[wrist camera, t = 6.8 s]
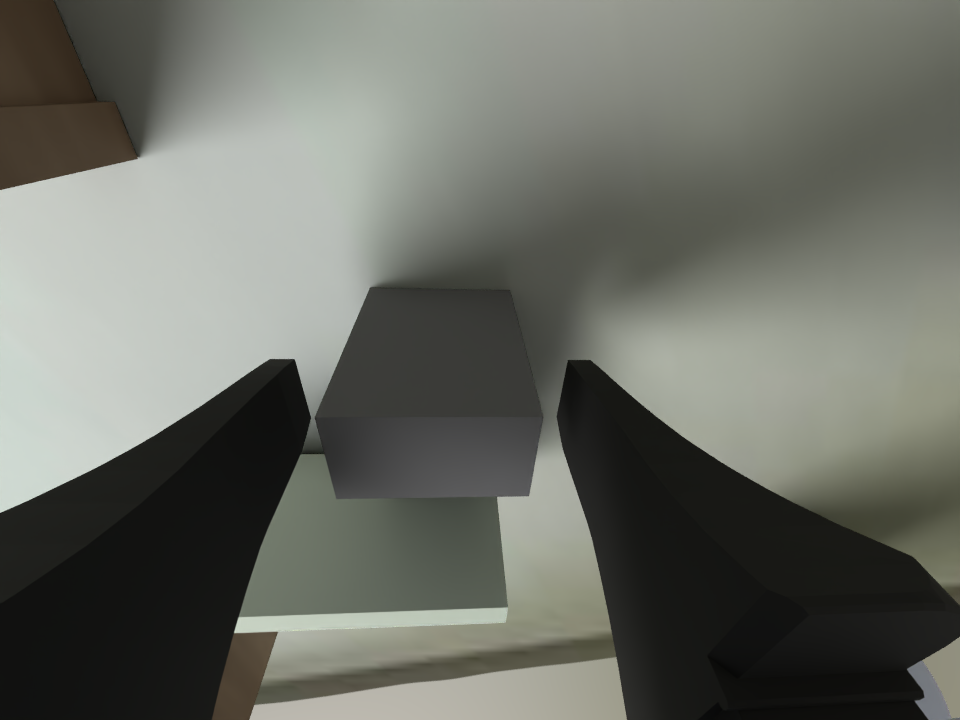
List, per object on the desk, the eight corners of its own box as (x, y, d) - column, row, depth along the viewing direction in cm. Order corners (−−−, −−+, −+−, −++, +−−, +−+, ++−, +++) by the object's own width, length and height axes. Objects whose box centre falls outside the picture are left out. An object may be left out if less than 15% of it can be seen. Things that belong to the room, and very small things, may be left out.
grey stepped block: (370, 286, 12) (315, 417, 8) (509, 288, 13) (543, 416, 8) (390, 442, 16) (361, 595, 11) (495, 442, 17) (511, 590, 12)
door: (224, 471, 16) (124, 637, 11) (216, 455, 16) (107, 622, 11) (491, 468, 17) (505, 622, 12) (492, 452, 17) (507, 607, 12)
